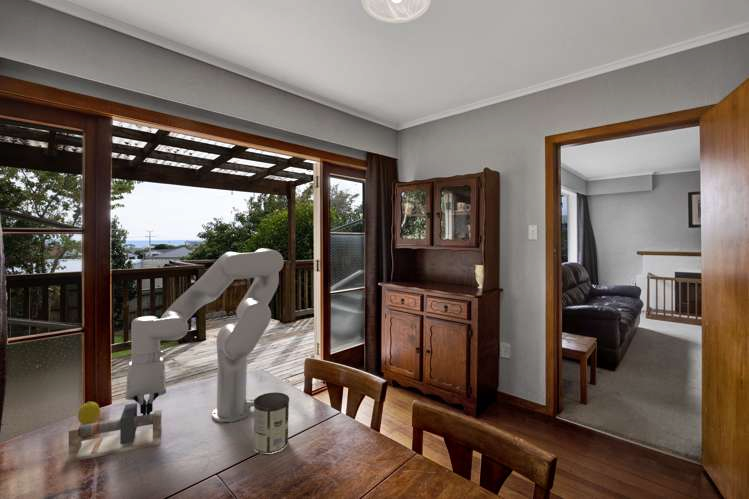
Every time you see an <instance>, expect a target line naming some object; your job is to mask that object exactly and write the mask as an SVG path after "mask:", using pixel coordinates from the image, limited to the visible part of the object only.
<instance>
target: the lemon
mask: <svg viewBox="0 0 749 499" xmlns="http://www.w3.org/2000/svg"><path fill="white" fill-rule="evenodd" d="M100 413H101V409H100V406H99V404H98V403H96V402H95V401H87V402H86V403H84V404H82V405H81V407H80V408H79V410H78V414H77V419H78V423H82V425H87V424H93V423H96V422H97V420H99V417H100V415H101V414H100Z"/></svg>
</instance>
